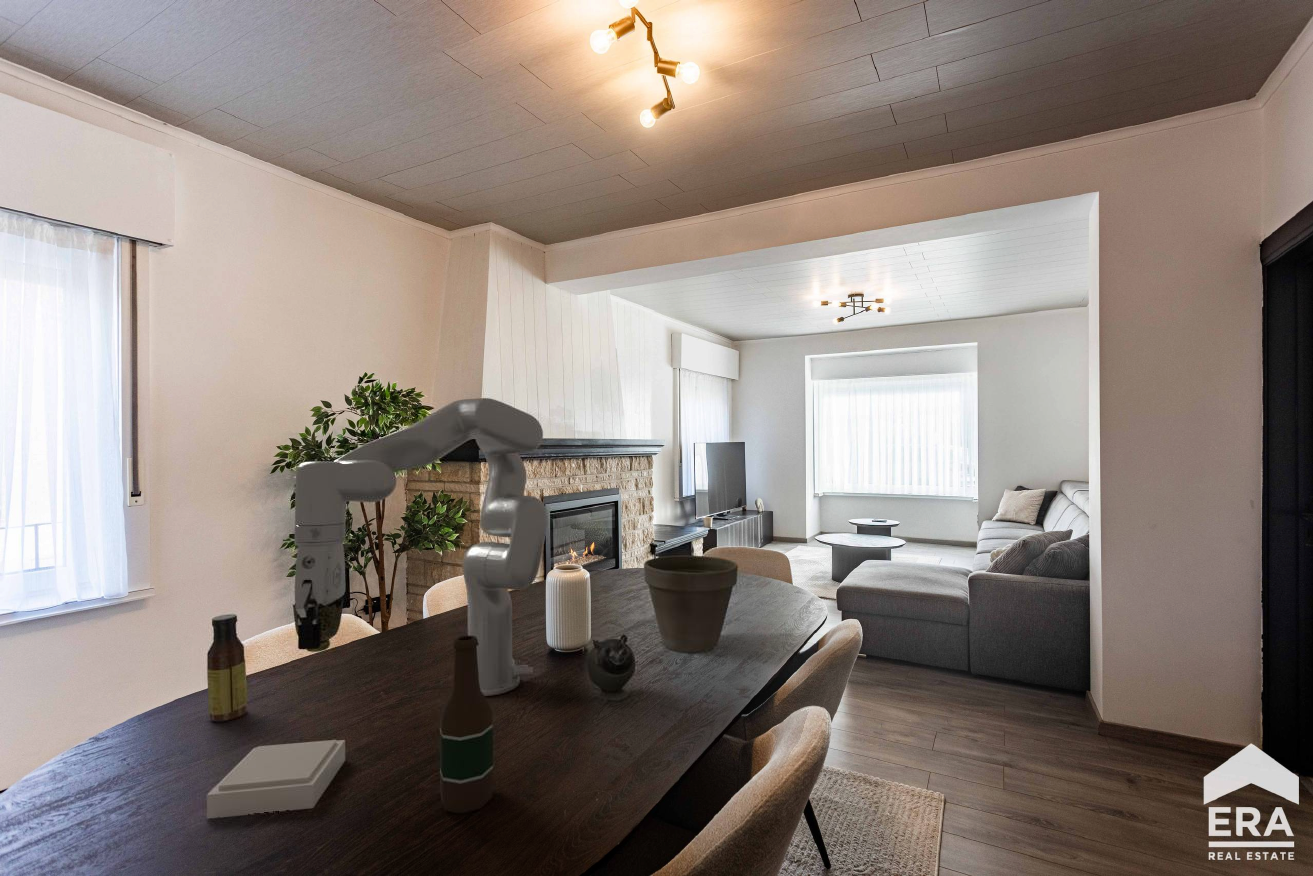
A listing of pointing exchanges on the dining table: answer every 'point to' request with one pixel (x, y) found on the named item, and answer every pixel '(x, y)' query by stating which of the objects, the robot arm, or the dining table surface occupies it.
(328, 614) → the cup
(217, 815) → the pedestal
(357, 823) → the dining table surface
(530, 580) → the robot arm
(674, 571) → the plant pot
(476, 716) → the beer bottle
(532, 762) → the dining table surface
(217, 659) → the sauce bottle
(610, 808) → the dining table surface
